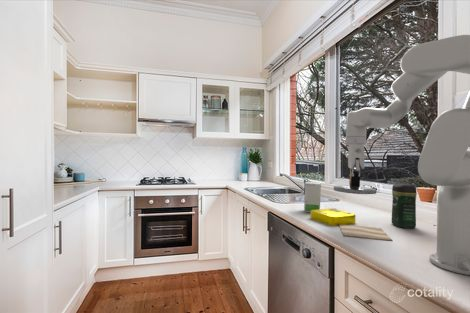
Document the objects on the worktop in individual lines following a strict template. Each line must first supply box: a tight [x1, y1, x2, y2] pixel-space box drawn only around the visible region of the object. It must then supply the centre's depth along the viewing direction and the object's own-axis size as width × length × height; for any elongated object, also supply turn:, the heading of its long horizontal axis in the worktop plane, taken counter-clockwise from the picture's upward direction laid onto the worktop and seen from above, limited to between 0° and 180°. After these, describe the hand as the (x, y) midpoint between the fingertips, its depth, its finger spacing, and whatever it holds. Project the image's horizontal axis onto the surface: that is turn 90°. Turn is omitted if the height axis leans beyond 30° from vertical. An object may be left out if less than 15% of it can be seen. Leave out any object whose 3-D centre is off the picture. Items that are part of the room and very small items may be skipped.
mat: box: [338, 224, 393, 242], centre depth 100 cm, size 16×16×1 cm
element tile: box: [310, 207, 356, 227], centre depth 118 cm, size 15×15×5 cm
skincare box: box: [303, 181, 322, 213], centre depth 137 cm, size 8×7×16 cm
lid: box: [333, 172, 377, 195], centre depth 105 cm, size 16×16×7 cm
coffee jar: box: [391, 182, 418, 229], centre depth 110 cm, size 10×8×19 cm
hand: (354, 185), depth 105 cm, fingers closed on lid, 3 cm apart
